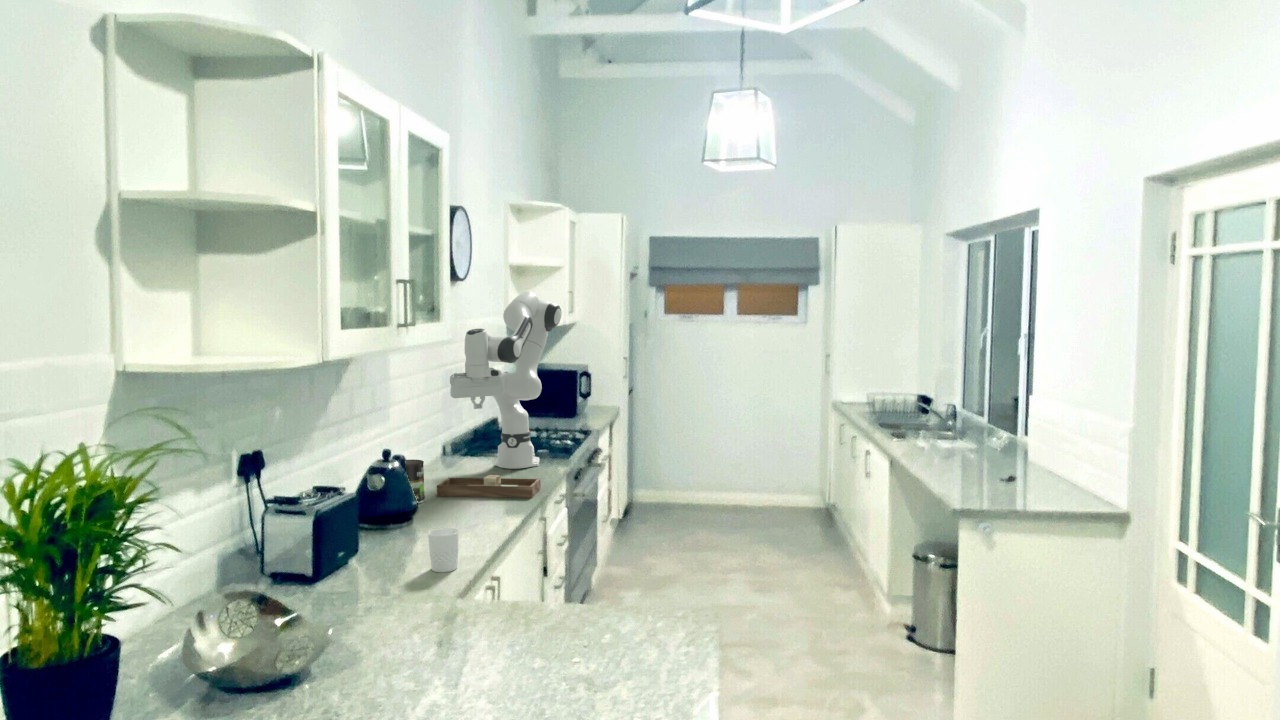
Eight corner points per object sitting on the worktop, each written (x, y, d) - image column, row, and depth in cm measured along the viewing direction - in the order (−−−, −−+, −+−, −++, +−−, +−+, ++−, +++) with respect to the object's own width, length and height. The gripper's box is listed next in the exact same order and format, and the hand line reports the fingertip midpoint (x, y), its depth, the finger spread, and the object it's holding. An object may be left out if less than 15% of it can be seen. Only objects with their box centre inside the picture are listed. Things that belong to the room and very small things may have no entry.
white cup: (449, 574, 229) (448, 537, 228) (423, 571, 232) (422, 534, 231) (465, 565, 237) (464, 529, 236) (440, 562, 239) (438, 526, 239)
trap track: (448, 488, 329) (448, 477, 328) (540, 489, 325) (540, 478, 324) (436, 496, 316) (436, 485, 316) (532, 497, 312) (532, 486, 312)
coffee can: (428, 498, 314) (427, 459, 313) (420, 505, 304) (419, 464, 302) (399, 498, 314) (398, 459, 313) (390, 505, 304) (389, 465, 303)
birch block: (489, 487, 321) (489, 475, 320) (500, 487, 319) (500, 475, 319) (484, 489, 316) (483, 477, 316) (495, 490, 315) (495, 478, 315)
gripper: (451, 374, 324) (452, 411, 325) (505, 371, 332) (506, 407, 334) (447, 372, 329) (448, 409, 331) (500, 370, 338) (501, 405, 339)
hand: (478, 408), depth 332 cm, fingers closed
